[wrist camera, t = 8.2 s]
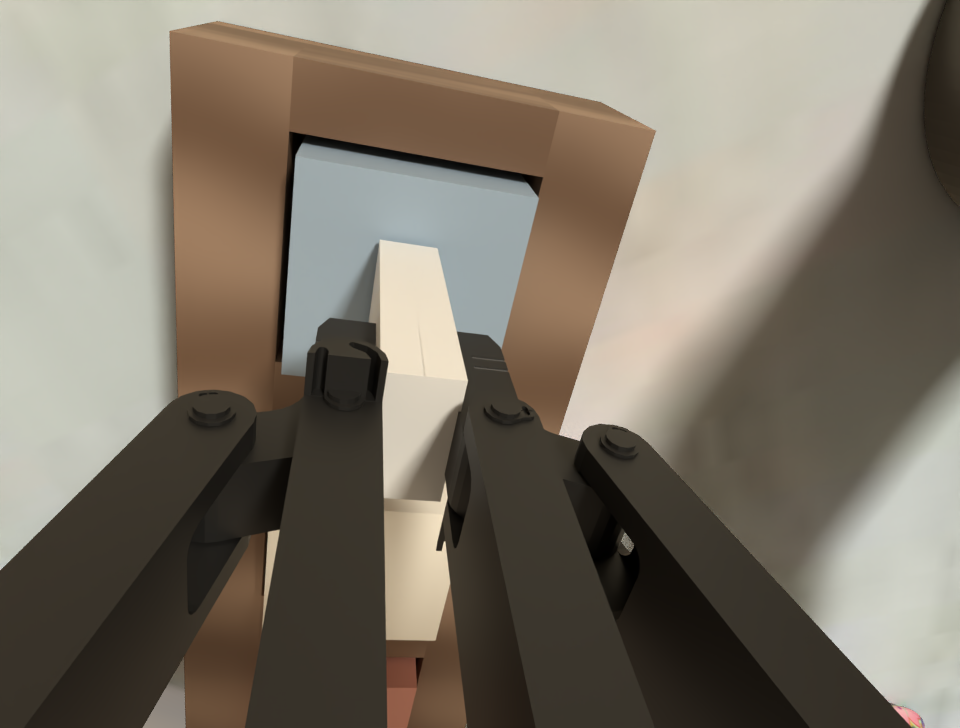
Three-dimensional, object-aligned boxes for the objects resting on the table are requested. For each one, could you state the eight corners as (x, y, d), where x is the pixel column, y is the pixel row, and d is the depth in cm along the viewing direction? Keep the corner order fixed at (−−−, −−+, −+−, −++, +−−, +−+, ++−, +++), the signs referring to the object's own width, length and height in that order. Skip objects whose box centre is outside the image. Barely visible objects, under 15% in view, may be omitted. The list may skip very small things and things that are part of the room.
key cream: (286, 425, 22) (269, 503, 19) (454, 439, 24) (467, 515, 20) (277, 549, 25) (261, 637, 22) (428, 556, 27) (435, 640, 23)
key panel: (217, 21, 19) (169, 31, 14) (600, 102, 21) (655, 130, 17) (212, 673, 33) (187, 775, 29) (442, 674, 35) (451, 768, 31)
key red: (275, 601, 28) (260, 687, 25) (412, 605, 29) (417, 687, 26) (268, 688, 31) (254, 775, 27) (394, 688, 32) (396, 771, 29)
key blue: (310, 125, 19) (295, 156, 15) (511, 162, 20) (538, 198, 16) (297, 312, 21) (281, 374, 18) (473, 334, 23) (489, 395, 19)
